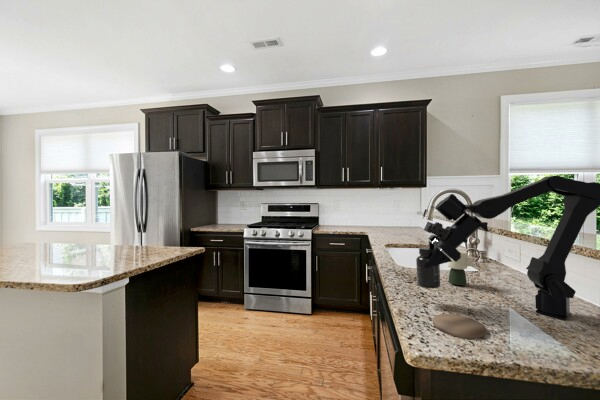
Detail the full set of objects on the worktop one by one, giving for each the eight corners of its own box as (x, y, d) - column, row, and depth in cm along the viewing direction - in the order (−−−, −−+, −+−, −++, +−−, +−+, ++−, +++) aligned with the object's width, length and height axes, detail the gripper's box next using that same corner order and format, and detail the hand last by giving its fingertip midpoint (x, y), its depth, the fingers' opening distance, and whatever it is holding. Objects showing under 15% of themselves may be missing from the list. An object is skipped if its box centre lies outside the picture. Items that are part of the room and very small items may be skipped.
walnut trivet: (495, 330, 69) (495, 326, 69) (471, 344, 62) (471, 339, 62) (447, 314, 79) (447, 310, 79) (423, 324, 72) (423, 320, 72)
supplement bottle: (435, 283, 90) (434, 247, 91) (444, 289, 83) (443, 250, 84) (414, 282, 91) (413, 246, 91) (421, 288, 84) (420, 249, 84)
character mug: (476, 285, 105) (475, 252, 105) (470, 289, 100) (469, 254, 100) (446, 279, 113) (446, 248, 113) (439, 283, 108) (439, 250, 108)
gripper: (434, 211, 95) (401, 242, 98) (447, 214, 77) (406, 251, 80) (459, 234, 93) (425, 265, 96) (479, 242, 75) (436, 279, 78)
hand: (423, 264), depth 88 cm, fingers closed on supplement bottle, 7 cm apart
